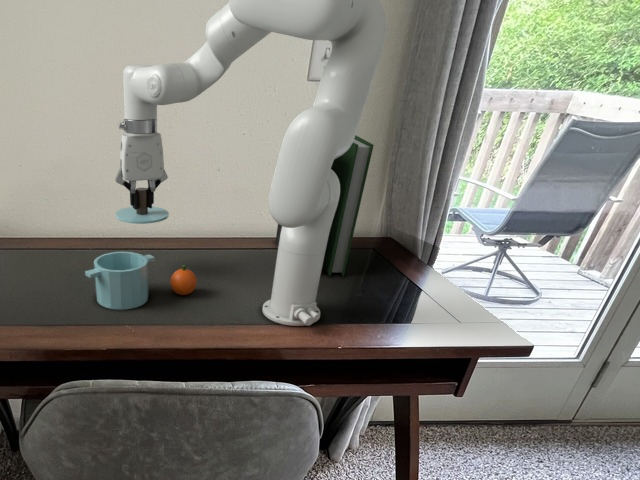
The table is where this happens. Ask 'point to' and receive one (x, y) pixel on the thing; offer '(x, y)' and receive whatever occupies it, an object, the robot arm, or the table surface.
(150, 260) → the pot
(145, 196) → the pot lid
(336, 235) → the green and black books
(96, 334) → the table surface
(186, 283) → the orange
